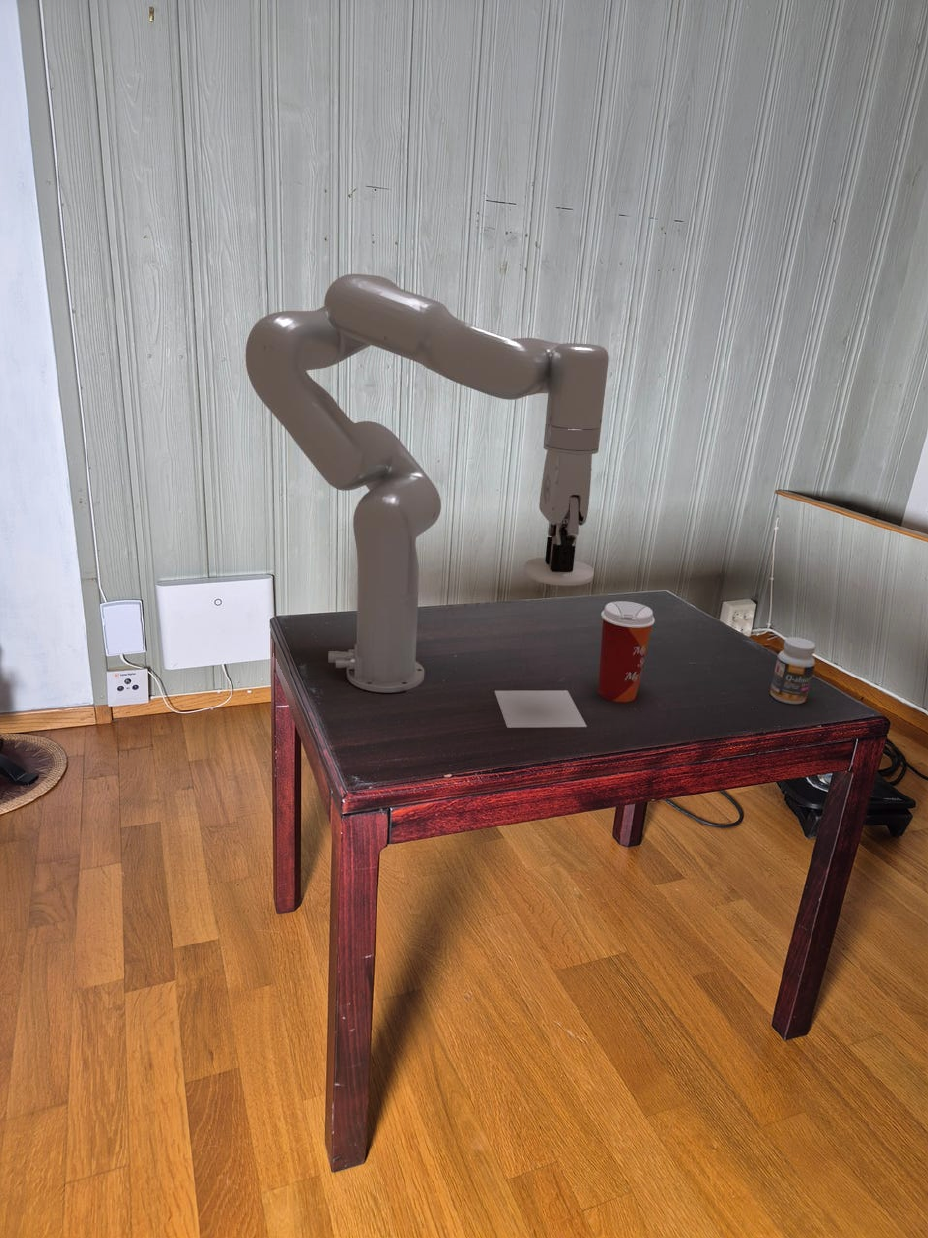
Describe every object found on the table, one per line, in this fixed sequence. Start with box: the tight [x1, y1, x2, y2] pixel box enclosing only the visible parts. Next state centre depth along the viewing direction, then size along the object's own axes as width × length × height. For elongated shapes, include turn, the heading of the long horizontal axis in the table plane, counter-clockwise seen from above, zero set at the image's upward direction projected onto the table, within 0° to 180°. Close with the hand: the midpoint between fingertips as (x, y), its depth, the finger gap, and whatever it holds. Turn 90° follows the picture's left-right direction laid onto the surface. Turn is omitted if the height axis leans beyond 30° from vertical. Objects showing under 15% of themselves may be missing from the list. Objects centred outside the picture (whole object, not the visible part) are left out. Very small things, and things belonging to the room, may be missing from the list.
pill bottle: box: [769, 636, 816, 705], centre depth 137 cm, size 6×6×10 cm
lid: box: [523, 535, 595, 587], centre depth 120 cm, size 10×10×6 cm
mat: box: [494, 689, 588, 729], centre depth 129 cm, size 12×12×1 cm
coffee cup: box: [598, 600, 655, 703], centre depth 133 cm, size 8×8×15 cm
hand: (558, 566), depth 121 cm, fingers closed on lid, 2 cm apart
